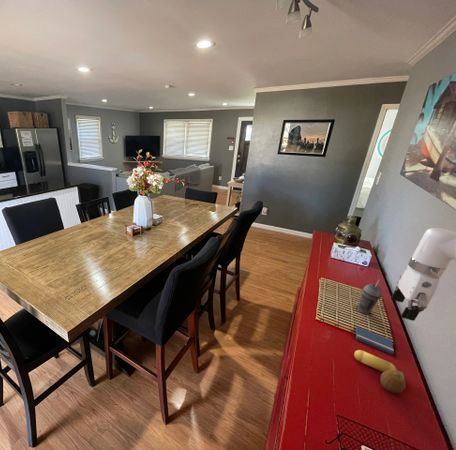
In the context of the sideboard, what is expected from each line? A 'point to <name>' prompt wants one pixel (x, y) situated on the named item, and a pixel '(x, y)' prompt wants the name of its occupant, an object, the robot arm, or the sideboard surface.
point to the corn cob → (375, 362)
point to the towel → (374, 340)
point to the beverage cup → (369, 297)
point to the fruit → (393, 381)
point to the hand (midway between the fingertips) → (401, 309)
